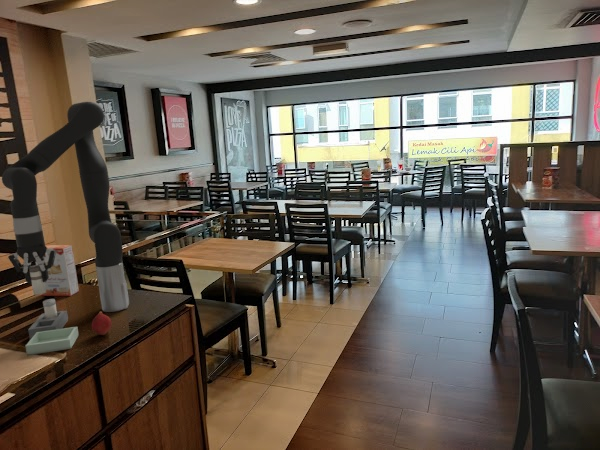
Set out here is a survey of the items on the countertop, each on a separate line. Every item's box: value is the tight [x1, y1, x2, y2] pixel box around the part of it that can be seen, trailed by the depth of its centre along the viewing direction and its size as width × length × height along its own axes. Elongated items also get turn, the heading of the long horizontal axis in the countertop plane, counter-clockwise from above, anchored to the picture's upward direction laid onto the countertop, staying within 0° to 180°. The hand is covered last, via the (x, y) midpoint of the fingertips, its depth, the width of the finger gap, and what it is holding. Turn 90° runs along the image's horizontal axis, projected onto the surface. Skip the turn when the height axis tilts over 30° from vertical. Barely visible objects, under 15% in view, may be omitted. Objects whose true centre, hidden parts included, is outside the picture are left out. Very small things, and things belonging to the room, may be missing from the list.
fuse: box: [42, 298, 58, 319], centre depth 152 cm, size 4×4×9 cm
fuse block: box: [28, 310, 69, 341], centre depth 149 cm, size 8×14×4 cm, turn 14°
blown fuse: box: [29, 264, 46, 296], centre depth 142 cm, size 4×4×9 cm
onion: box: [91, 311, 113, 336], centre depth 141 cm, size 6×6×8 cm
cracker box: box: [35, 244, 80, 297], centre depth 184 cm, size 14×6×21 cm, turn 81°
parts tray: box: [25, 326, 80, 356], centre depth 137 cm, size 12×10×3 cm
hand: (37, 282), depth 142 cm, fingers closed on blown fuse, 3 cm apart
